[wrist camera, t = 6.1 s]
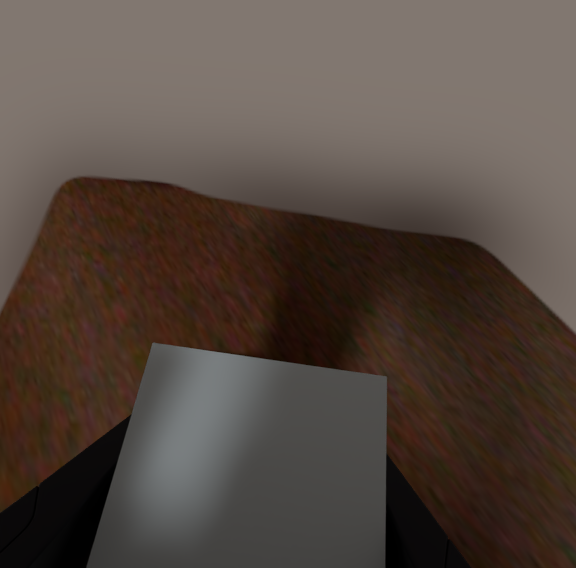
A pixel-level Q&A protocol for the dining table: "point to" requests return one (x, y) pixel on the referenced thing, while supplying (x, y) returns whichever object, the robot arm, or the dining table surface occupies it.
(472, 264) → the dining table surface
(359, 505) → the grey tall rectangular block
